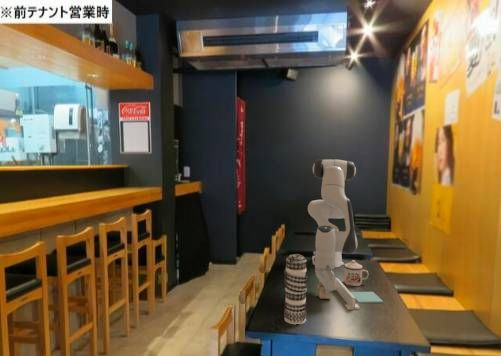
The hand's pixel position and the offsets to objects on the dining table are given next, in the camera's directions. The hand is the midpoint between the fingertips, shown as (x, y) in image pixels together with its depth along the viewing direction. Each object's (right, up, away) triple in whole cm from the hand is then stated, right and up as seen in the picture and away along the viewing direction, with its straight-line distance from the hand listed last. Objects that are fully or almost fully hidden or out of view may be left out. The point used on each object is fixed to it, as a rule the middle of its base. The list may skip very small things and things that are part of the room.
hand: (324, 292), depth 151 cm
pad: (+19, -3, +1) cm, 19 cm away
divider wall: (+9, -2, 0) cm, 9 cm away
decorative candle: (-16, -3, -21) cm, 27 cm away
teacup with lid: (+20, -2, +19) cm, 28 cm away
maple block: (0, -2, 0) cm, 2 cm away
